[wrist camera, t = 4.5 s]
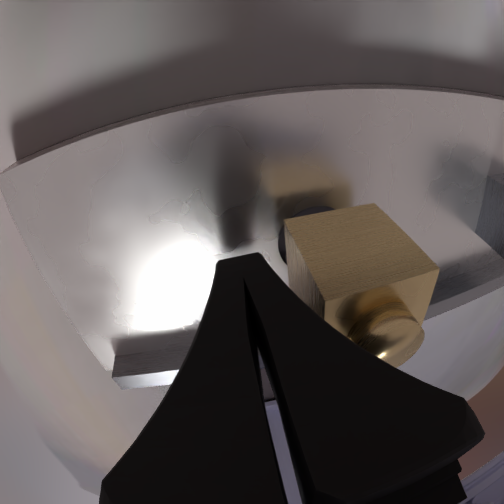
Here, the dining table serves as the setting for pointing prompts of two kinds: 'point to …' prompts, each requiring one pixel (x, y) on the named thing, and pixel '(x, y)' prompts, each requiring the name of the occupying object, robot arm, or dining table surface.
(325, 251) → the brass leg
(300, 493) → the robot arm
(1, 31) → the dining table surface
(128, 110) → the dining table surface
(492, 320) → the dining table surface
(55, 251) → the hole plate
